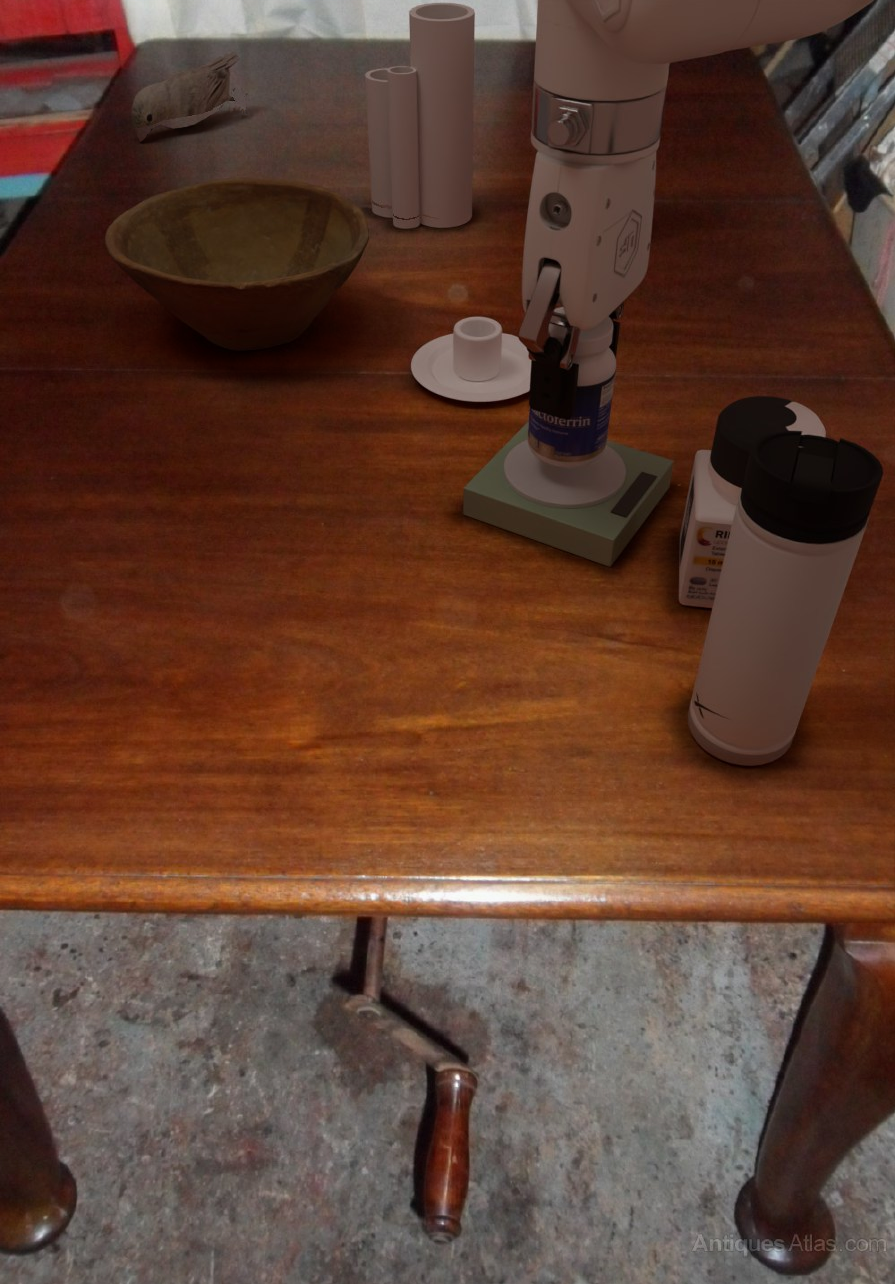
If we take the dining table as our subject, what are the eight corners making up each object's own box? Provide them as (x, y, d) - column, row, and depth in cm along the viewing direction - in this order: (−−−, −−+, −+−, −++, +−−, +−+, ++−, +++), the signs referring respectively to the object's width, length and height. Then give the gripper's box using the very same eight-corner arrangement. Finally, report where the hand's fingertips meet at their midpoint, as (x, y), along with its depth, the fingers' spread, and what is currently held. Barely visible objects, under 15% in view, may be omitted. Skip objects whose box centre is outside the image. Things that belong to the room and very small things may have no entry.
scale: (669, 487, 82) (675, 456, 80) (610, 567, 75) (614, 535, 73) (530, 442, 86) (532, 411, 84) (462, 514, 79) (463, 483, 77)
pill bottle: (516, 460, 76) (523, 332, 69) (541, 420, 80) (549, 295, 73) (593, 478, 75) (608, 349, 68) (615, 435, 78) (631, 309, 71)
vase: (473, 204, 120) (476, 3, 106) (469, 230, 115) (472, 23, 101) (374, 201, 121) (364, 0, 107) (365, 227, 116) (354, 21, 102)
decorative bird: (127, 137, 135) (114, 74, 130) (232, 108, 143) (224, 47, 138) (150, 149, 132) (137, 84, 127) (255, 119, 140) (248, 57, 135)
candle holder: (530, 333, 99) (532, 289, 96) (561, 401, 90) (565, 356, 87) (402, 344, 97) (400, 300, 94) (422, 415, 89) (421, 369, 86)
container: (677, 607, 72) (710, 444, 63) (679, 536, 77) (709, 377, 68) (795, 619, 71) (845, 456, 62) (788, 547, 76) (833, 387, 67)
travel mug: (676, 755, 63) (741, 475, 49) (697, 679, 67) (762, 403, 53) (784, 784, 61) (883, 504, 47) (798, 704, 65) (892, 426, 51)
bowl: (240, 423, 88) (222, 311, 81) (83, 332, 99) (55, 226, 92) (422, 327, 100) (419, 222, 93) (263, 255, 111) (250, 156, 104)
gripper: (593, 177, 55) (566, 469, 67) (711, 84, 65) (669, 351, 78) (466, 151, 57) (463, 435, 70) (600, 65, 68) (576, 326, 81)
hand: (572, 388), depth 74 cm, fingers closed on pill bottle, 5 cm apart
